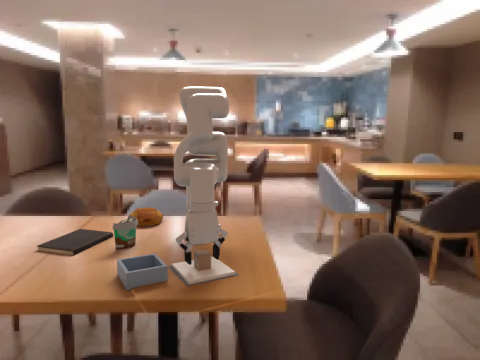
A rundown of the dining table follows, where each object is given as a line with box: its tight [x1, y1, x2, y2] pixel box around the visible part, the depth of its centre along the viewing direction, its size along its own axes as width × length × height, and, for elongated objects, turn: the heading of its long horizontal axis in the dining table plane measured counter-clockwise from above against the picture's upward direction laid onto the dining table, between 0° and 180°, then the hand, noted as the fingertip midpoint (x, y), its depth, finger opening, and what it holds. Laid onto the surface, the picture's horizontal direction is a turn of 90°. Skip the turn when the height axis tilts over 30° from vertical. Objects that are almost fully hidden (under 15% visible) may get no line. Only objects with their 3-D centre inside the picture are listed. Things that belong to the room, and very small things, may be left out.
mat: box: [167, 265, 240, 287], centre depth 121 cm, size 17×17×1 cm
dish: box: [116, 252, 169, 291], centre depth 116 cm, size 12×12×5 cm
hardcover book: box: [36, 228, 114, 256], centre depth 148 cm, size 16×23×2 cm
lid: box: [171, 249, 235, 284], centre depth 121 cm, size 15×15×6 cm
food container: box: [112, 215, 138, 250], centre depth 145 cm, size 12×6×10 cm, turn 168°
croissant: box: [128, 207, 164, 227], centre depth 176 cm, size 14×16×8 cm
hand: (202, 260), depth 121 cm, fingers open, 8 cm apart
